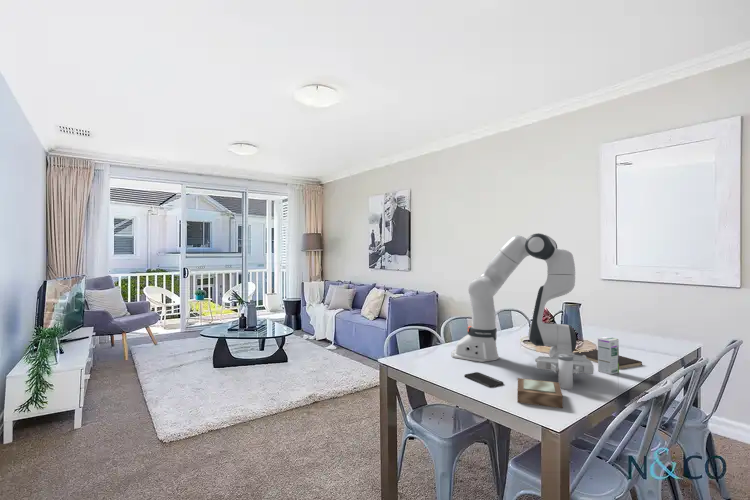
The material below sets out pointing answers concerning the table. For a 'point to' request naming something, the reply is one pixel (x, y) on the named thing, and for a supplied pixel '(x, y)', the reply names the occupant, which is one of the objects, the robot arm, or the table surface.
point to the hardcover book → (623, 361)
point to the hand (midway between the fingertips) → (565, 370)
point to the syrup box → (608, 355)
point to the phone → (483, 379)
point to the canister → (565, 371)
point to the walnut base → (539, 393)
